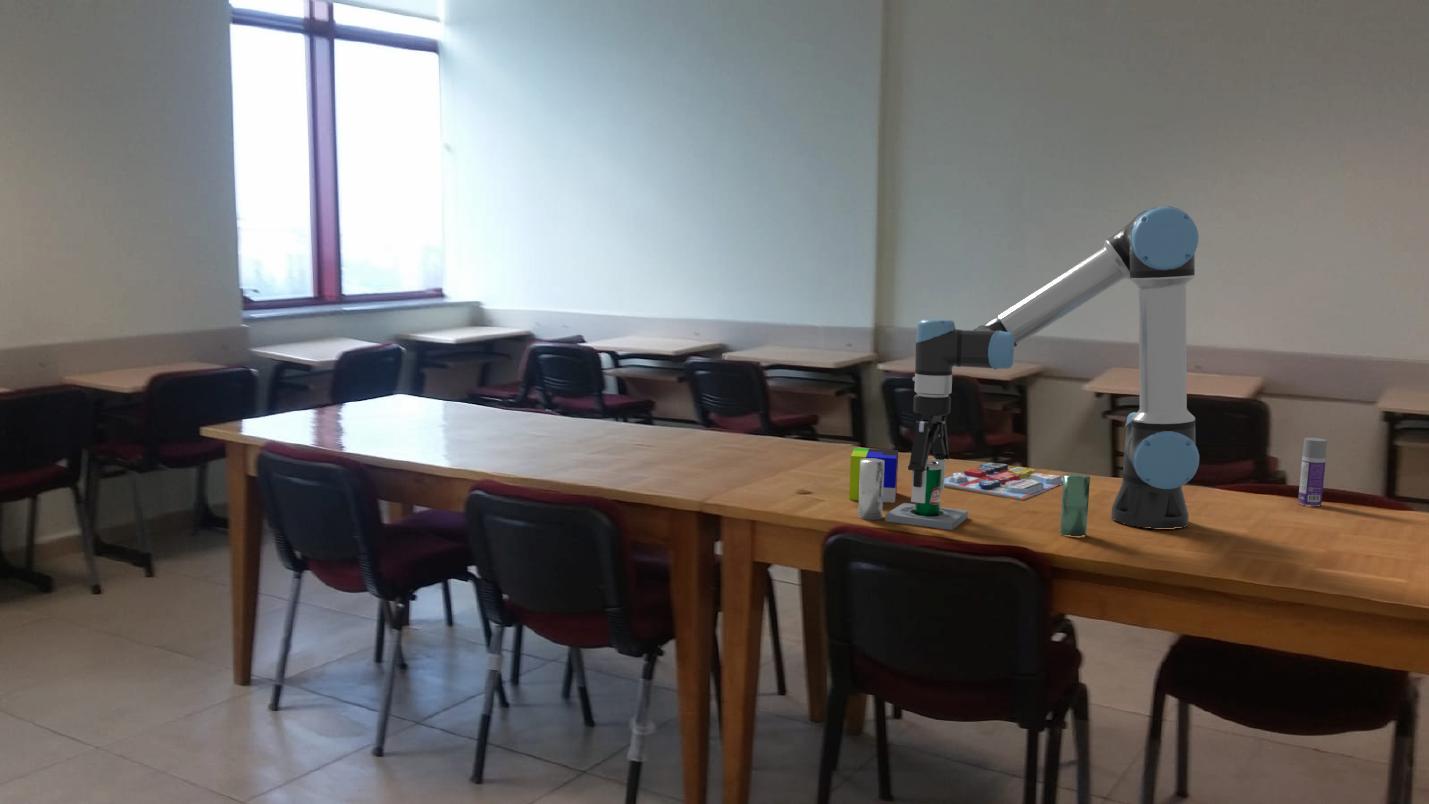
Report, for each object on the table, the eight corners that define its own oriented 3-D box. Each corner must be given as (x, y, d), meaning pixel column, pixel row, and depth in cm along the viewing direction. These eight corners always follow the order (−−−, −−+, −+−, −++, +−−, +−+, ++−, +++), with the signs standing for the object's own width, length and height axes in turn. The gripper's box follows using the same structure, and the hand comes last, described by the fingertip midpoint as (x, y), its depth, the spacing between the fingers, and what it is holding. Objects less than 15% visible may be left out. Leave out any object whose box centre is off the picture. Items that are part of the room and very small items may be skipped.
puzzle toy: (894, 502, 253) (896, 458, 251) (849, 500, 255) (850, 455, 253) (896, 493, 263) (898, 450, 261) (852, 490, 265) (854, 448, 263)
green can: (1088, 533, 228) (1092, 475, 227) (1083, 539, 224) (1087, 479, 222) (1062, 530, 231) (1066, 472, 229) (1057, 536, 226) (1061, 476, 225)
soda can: (934, 523, 234) (936, 466, 233) (910, 520, 237) (913, 463, 235) (942, 518, 239) (945, 462, 237) (920, 515, 241) (922, 459, 240)
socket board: (967, 517, 240) (968, 510, 240) (951, 530, 229) (952, 522, 229) (903, 509, 246) (903, 502, 246) (885, 521, 236) (885, 514, 235)
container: (1323, 504, 258) (1330, 439, 256) (1317, 508, 255) (1323, 442, 252) (1301, 501, 261) (1307, 436, 259) (1295, 504, 258) (1301, 439, 256)
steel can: (885, 515, 240) (887, 459, 239) (877, 520, 236) (879, 463, 234) (862, 512, 243) (865, 457, 241) (854, 517, 238) (856, 461, 236)
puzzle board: (1022, 503, 257) (1023, 492, 257) (931, 488, 271) (931, 477, 271) (1074, 482, 281) (1075, 472, 280) (987, 469, 295) (988, 459, 294)
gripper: (932, 386, 247) (927, 482, 250) (895, 400, 225) (891, 505, 228) (966, 389, 243) (961, 486, 246) (932, 403, 221) (927, 510, 224)
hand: (927, 496), depth 237 cm, fingers open, 13 cm apart
